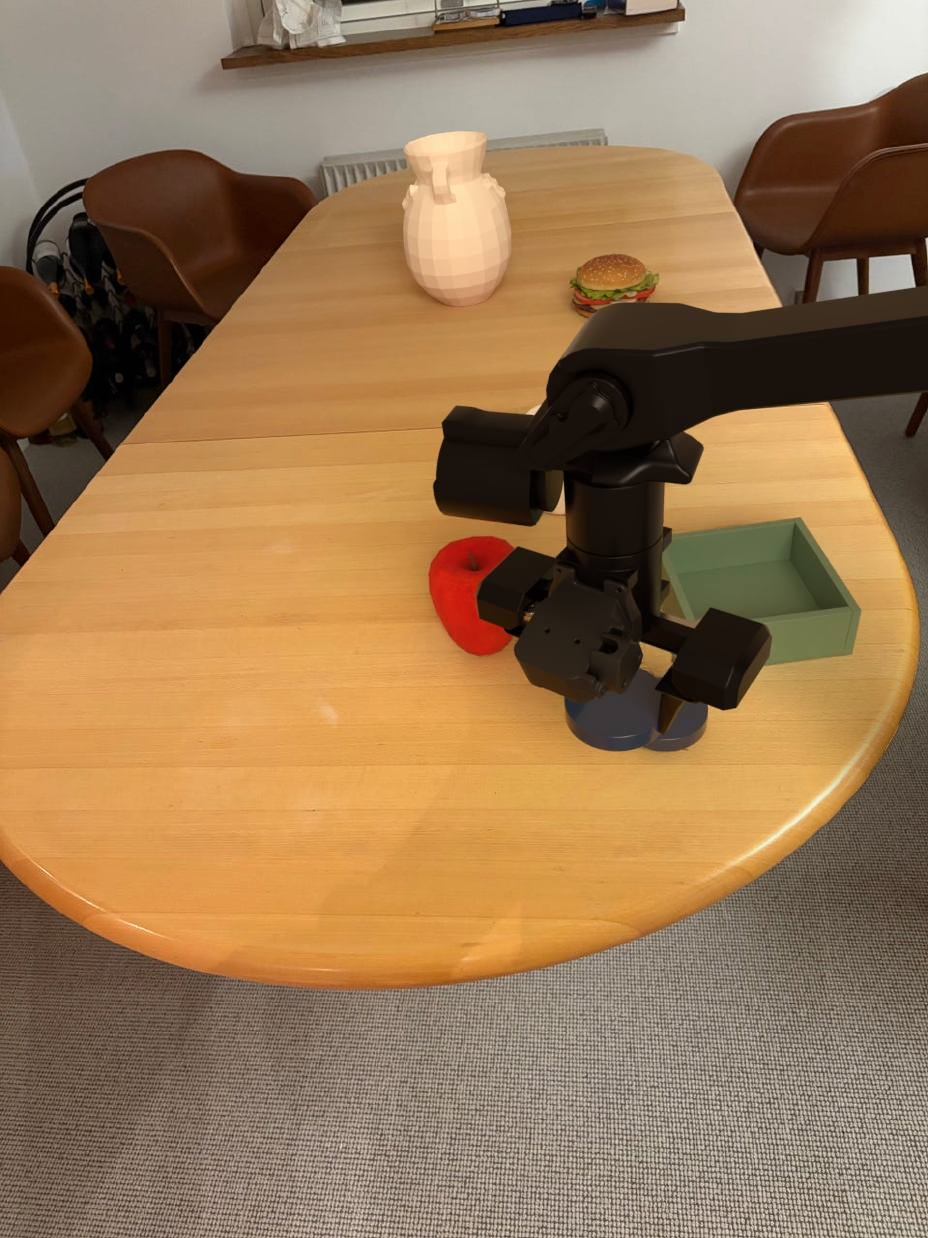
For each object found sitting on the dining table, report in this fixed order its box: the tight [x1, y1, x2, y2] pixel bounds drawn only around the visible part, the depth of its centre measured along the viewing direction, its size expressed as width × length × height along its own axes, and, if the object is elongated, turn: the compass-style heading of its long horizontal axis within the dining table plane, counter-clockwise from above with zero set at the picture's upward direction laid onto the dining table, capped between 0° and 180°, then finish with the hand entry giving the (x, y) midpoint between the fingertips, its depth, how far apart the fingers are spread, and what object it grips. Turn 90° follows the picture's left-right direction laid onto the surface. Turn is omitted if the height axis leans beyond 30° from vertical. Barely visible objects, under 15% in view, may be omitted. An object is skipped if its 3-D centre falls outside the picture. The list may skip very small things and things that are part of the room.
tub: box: [661, 516, 862, 666], centre depth 82 cm, size 15×15×5 cm
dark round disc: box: [563, 667, 661, 753], centre depth 62 cm, size 7×7×2 cm
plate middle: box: [642, 676, 709, 753], centre depth 74 cm, size 7×7×2 cm
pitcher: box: [401, 131, 513, 307], centre depth 148 cm, size 19×18×25 cm
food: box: [569, 253, 660, 319], centre depth 142 cm, size 14×14×8 cm
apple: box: [427, 535, 516, 657], centre depth 82 cm, size 9×9×11 cm
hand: (615, 710), depth 62 cm, fingers closed on dark round disc, 7 cm apart
